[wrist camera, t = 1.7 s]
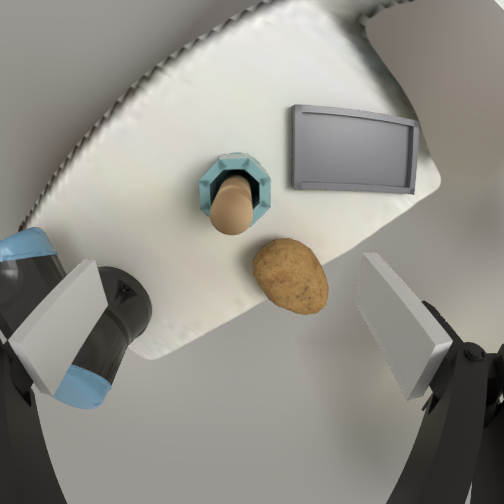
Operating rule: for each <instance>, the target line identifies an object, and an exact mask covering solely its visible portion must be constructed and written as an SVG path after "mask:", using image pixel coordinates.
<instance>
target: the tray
mask: <svg viewBox="0 0 504 504" xmlns="http://www.w3.org/2000/svg"><path fill="white" fill-rule="evenodd" d="M418 133H419V121H415V120H411V119H406V118H401V117H396V116H391V115H385V114H379V113H373V112H367V111H360V110H352V109H344V108H335V107H324V106H312V105H293V106H292V187H293V188H294V190H344V191H367V192H385V193H400V194H413V195H414V190H415V181H416V170H417V156H418Z"/></svg>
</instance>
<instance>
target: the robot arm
mask: <svg viewBox="0 0 504 504" xmlns="http://www.w3.org/2000/svg"><path fill="white" fill-rule="evenodd" d="M354 302H355V304H356V306H357V308H358V309H359V311H360V313H361V315H362V317H363V318H364V320H365V322H366V323H367V325H368V327H369V329H370V331H371V333H372V335H373V337H374V338H375V340H376V342H377V344H378V346H379V348H380V350H381V351H382V353H383V355H384V357H385V359H386V361H387V363H388V365H389V367H390V369H391V371H392V373H393V375H394V377H395V379H396V381H397V383H398V385H399V387H400V389H401V391H402V393H403V395H404V398H405V400H406V401H408V400H411V399H414V398H417V397H421V396H423V395H424V393H425V391H426V390H427V388H428V386H430V388H431V390H432V391H433V393H432V394H431V396H430V397H429V399H428V400H427V402H426V403H425V405H424V406H423V408H422V410H423V411H424V410H425V408H426V407H427V408H426V411H425V414H424V417H423V420H422V423H421V426H420V429H419V432H418V435H417V438H416V440H415V443H414V445H413V448H412V451H411V453H410V455H409V458H408V460H407V462H406V465H405V467H404V469H403V471H402V473H401V475H400V478H399V480H398V482H397V484H396V486H395V488H394V490H393V492H392V494H391V495H390V497H389V499H388V501H387V503H386V504H465V501H466V498H467V495H468V492H469V489H470V486H471V482H472V490H471V500H470V504H504V400H503V402H502V403H500V399H499V398H500V396H501V395H502V394H503V397H504V344H502V345H501V347H500V349H499V351H498V353H486V352H485V351H484V349H482V348H481V347H480V346H479V345H477V344H475V343H471V342H465V343H464V342H463V341H462V340H461V339H460V337H459V336H458V335H457V334H456V332H455V331H454V330H453V329H452V328H451V326H450V325H449V324H448V323H447V322H445V319H444V318H443V317H442V316H440V313H439V312H438V311H437V310H436V309H435V307H433V306H432V305H430V304H429V303H427V302H426V301H420V300H419V299H418V298H417V296H416V295H415V294H414V293H413V292H412V291H411V290H410V289H409V287H408V286H407V285H406V284H405V283H404V282H403V281H402V280H401V278H400V277H399V276H398V275H397V274H396V273H395V272H394V271H393V270H392V269H391V268H390V266H388V265H387V263H386V262H385V261H384V260H383V259H382V258H381V257H380V256H379V255H378V254H377V253H363V254H362V260H361V266H360V273H359V278H358V284H357V289H356V294H355V300H354ZM151 315H152V306H151V302H150V299H149V296H148V294H147V292H146V291H145V289H144V288H143V287H142V285H141V284H140V283H139V282H138V281H137V280H136V279H135V278H133V277H132V276H131V275H129V274H128V273H126V272H124V271H122V270H120V269H117V268H113V267H99V268H97V264H96V260H95V259H84V260H83V261H81V262H80V263H79V264H78V265H77V266H76V267H75V268H74V269H73V270H72V271H71V272H70V273H69V274H68V275H67V274H66V272H65V270H64V268H63V266H62V264H61V262H60V260H59V258H58V256H57V251H55V250H54V248H53V247H52V245H51V243H50V241H49V239H48V237H47V235H46V233H45V232H44V231H43V230H42V229H40V228H38V227H32V228H29V229H26V230H23V231H21V232H18V233H16V234H14V235H12V236H9V237H7V238H5V239H3V240H1V241H0V504H67V502H66V500H65V498H64V495H63V493H62V491H61V488H60V486H59V483H58V480H57V478H56V475H55V473H54V469H53V466H52V464H51V461H50V458H49V454H48V451H47V448H46V444H45V441H44V437H43V433H42V429H41V425H40V420H39V416H38V411H37V406H36V401H35V395H34V392H33V390H32V389H31V386H32V384H33V382H34V383H35V385H36V386H37V388H38V389H39V391H40V392H42V393H45V394H48V395H51V396H52V397H54V398H55V399H57V400H59V401H61V402H63V403H65V404H67V405H70V406H73V407H76V408H80V409H94V408H97V407H99V406H100V405H101V404H102V403H103V401H104V399H105V397H106V395H107V393H108V392H109V391H110V389H111V385H112V383H113V380H114V378H115V375H116V373H117V370H118V368H119V365H120V363H121V361H122V358H123V356H124V354H125V351H126V349H127V347H128V345H129V344H130V343H132V342H133V340H134V339H135V338H137V337H138V336H140V335H141V334H142V333H143V332H144V331H145V330H146V328H147V326H148V324H149V321H150V319H151Z"/></svg>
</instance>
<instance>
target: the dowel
mask: <svg viewBox="0 0 504 504" xmlns="http://www.w3.org/2000/svg"><path fill="white" fill-rule="evenodd" d="M210 219H211V222H212V224H213V226H214V227H215V228H216V229H217V230H218V231H219V232H221V233H223V234H226V235H237V234H240V233H242V232H244V231H245V230H246V229H247V228H248V227H249V226H250V224H251V222H252V219H253V208H252V199H251V190H250V180H249V177H248V175H247V173H246V172H244V171H243V170H240V169H234V170H231V171H229V172H228V173H227V174H226V176H225V178H224V180H223V182H222V184H221V187H220V189H219V191H218V193H217V195H216V198H215V200H214V202H213V204H212V207H211V209H210Z"/></svg>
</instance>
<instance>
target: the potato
mask: <svg viewBox="0 0 504 504" xmlns="http://www.w3.org/2000/svg"><path fill="white" fill-rule="evenodd" d="M253 274H254V276H255V278H256V280H257V282H258V284H259V285H260V286H261V288H262V289H263V291H264V292H265V294H266V295H267V297H268V299H269V300H270V301H272V302H273V303H274V304H275V305H277V306H279V307H282V308H284V309H287V310H290V311H292V312H294V313H298V314H303V315H308V314H314V313H318V312H319V311H320V310H321V309H322V308H323V307H325V306H326V304H327V298H328V283H327V279H326V276H325V273H324V271H323V269H322V266H321V265H320V263H319V261H318V259H317V258H316V256H315V255H314V253H313V252H312V250H311V249H310V248H308V247H307V246H305V245H304V244H302V243H301V242H299V241H296V240H292V239H289V238H287V239H276V240H274V241H272V242H271V243H270V244H268V245H266V246H264V247H262V248H261V249H260V251H259V252H258V254H257V255H256V257H255V258H254V260H253Z"/></svg>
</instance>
